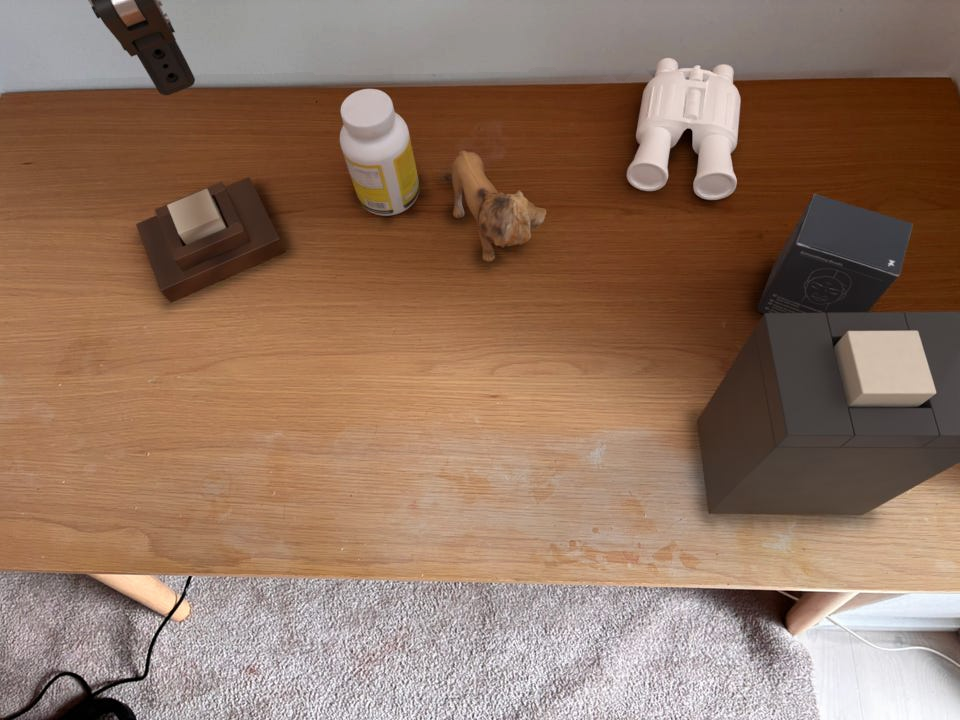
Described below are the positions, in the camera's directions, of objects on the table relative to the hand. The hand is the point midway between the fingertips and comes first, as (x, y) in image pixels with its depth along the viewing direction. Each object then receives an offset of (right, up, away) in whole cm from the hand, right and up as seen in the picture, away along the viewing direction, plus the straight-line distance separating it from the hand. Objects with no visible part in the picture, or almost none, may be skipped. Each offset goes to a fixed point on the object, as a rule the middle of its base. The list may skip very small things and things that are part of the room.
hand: (176, 83), depth 41 cm
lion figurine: (+19, -3, +28) cm, 34 cm away
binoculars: (+39, +7, +31) cm, 51 cm away
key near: (+41, -17, -1) cm, 45 cm away
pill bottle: (+9, +1, +30) cm, 31 cm away
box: (+48, -11, +22) cm, 54 cm away
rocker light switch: (-9, -5, +28) cm, 30 cm away
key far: (-9, -3, +25) cm, 27 cm away
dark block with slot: (+42, -25, +15) cm, 52 cm away
